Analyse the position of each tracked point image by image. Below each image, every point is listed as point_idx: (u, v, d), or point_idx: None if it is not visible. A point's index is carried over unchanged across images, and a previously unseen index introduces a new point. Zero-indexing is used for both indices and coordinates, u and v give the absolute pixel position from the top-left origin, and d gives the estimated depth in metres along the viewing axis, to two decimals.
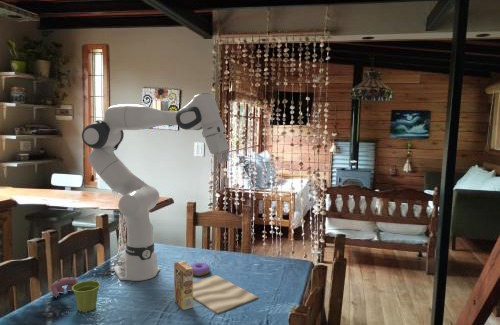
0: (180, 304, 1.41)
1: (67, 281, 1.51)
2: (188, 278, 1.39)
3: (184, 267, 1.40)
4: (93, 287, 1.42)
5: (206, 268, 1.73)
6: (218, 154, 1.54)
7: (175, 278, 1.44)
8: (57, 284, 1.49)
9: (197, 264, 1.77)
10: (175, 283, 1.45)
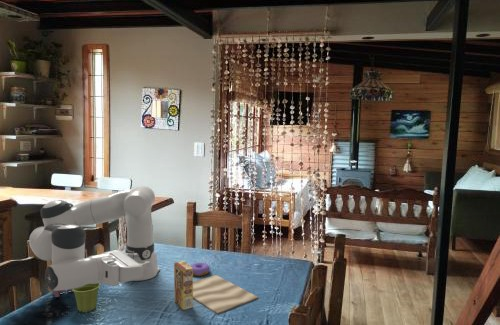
0: (180, 304, 1.41)
1: None
2: (188, 278, 1.39)
3: (184, 267, 1.40)
4: (93, 287, 1.42)
5: (206, 268, 1.73)
6: None
7: (175, 278, 1.44)
8: None
9: (197, 264, 1.77)
10: (175, 283, 1.45)
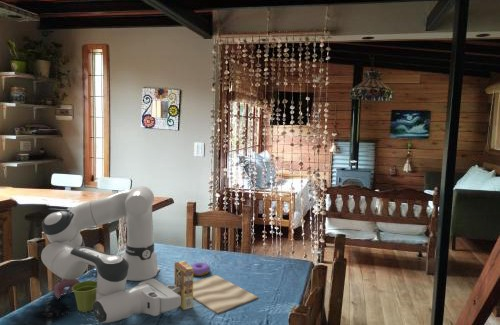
0: None
1: (69, 282, 1.50)
2: (188, 278, 1.39)
3: (185, 267, 1.40)
4: (93, 287, 1.42)
5: (206, 268, 1.73)
6: None
7: (175, 278, 1.45)
8: (59, 285, 1.47)
9: (197, 264, 1.77)
10: (175, 283, 1.45)
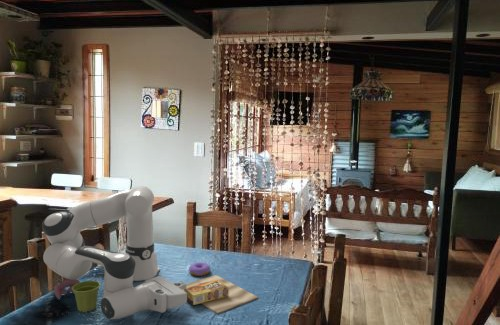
0: (193, 292, 1.44)
1: (70, 283, 1.50)
2: (220, 293, 1.48)
3: None
4: (93, 287, 1.42)
5: (207, 268, 1.73)
6: None
7: (207, 283, 1.53)
8: (60, 286, 1.47)
9: (197, 264, 1.77)
10: (202, 284, 1.52)
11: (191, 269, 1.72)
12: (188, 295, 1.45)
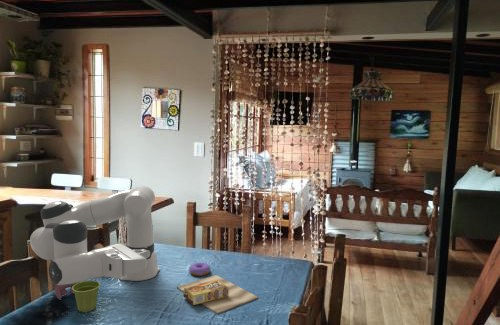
0: (193, 292, 1.44)
1: None
2: (220, 293, 1.48)
3: None
4: (93, 287, 1.42)
5: (207, 268, 1.73)
6: None
7: (207, 283, 1.53)
8: (60, 286, 1.47)
9: (197, 264, 1.77)
10: (202, 284, 1.52)
11: (191, 269, 1.72)
12: (188, 295, 1.45)
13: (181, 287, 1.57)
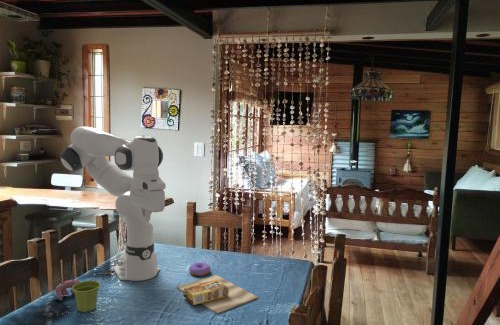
0: (193, 292, 1.44)
1: (71, 283, 1.49)
2: (220, 293, 1.48)
3: None
4: (93, 287, 1.42)
5: (207, 268, 1.73)
6: (150, 210, 1.35)
7: (207, 283, 1.53)
8: (61, 287, 1.46)
9: (197, 264, 1.76)
10: (202, 284, 1.52)
11: (192, 269, 1.72)
12: (188, 295, 1.45)
13: (181, 287, 1.57)
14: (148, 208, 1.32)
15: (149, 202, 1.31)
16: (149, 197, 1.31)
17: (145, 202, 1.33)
